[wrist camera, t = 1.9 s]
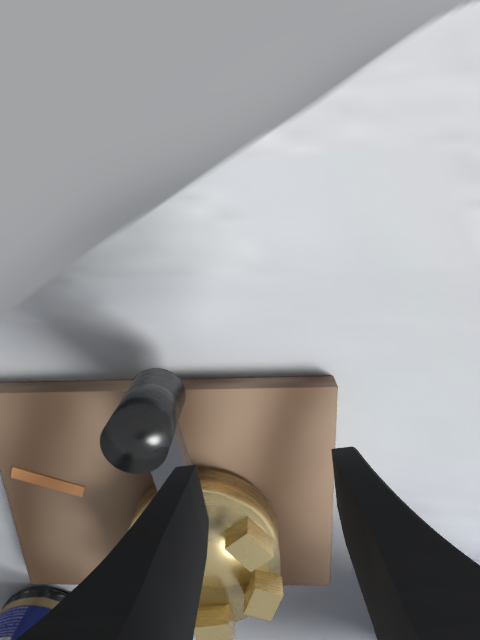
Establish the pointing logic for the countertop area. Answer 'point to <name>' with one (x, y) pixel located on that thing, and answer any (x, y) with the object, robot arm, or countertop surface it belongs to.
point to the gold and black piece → (220, 499)
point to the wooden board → (127, 489)
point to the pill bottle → (27, 610)
